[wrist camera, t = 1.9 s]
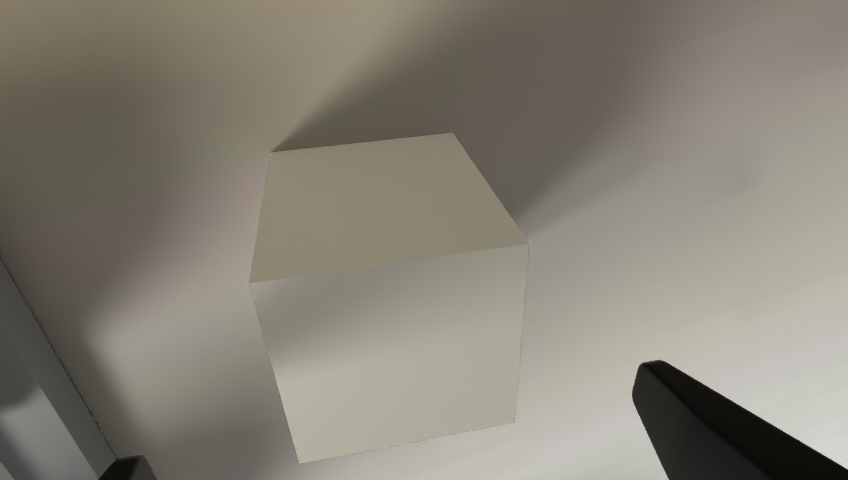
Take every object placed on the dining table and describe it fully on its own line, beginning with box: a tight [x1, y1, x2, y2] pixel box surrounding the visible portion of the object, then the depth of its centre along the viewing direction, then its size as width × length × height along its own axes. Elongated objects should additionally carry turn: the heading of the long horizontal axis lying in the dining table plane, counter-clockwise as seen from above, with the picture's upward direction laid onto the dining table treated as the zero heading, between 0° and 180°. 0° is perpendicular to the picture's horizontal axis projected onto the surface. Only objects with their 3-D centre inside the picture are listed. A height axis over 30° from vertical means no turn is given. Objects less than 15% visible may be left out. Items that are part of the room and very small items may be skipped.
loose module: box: [249, 133, 529, 464], centre depth 13 cm, size 5×5×6 cm
